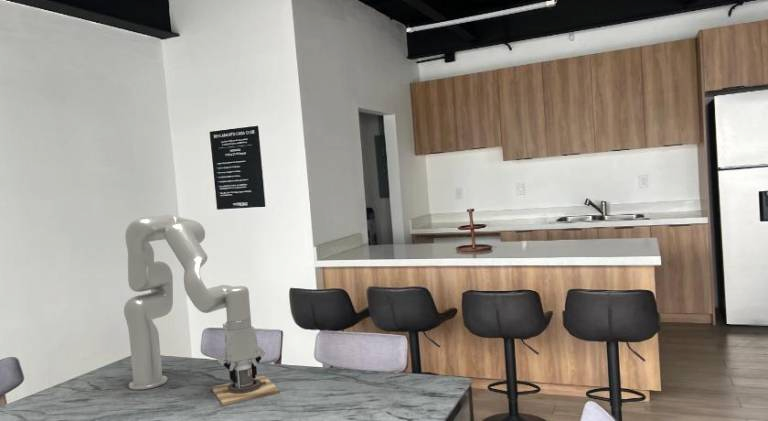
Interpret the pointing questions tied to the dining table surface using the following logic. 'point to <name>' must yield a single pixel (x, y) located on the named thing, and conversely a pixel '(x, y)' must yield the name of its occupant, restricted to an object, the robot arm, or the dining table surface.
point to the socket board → (244, 391)
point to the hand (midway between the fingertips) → (243, 379)
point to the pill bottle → (243, 374)
